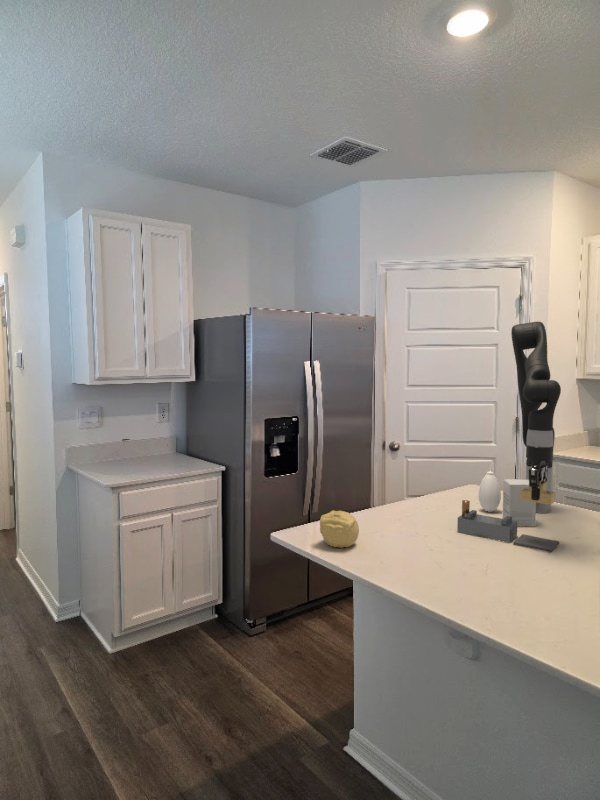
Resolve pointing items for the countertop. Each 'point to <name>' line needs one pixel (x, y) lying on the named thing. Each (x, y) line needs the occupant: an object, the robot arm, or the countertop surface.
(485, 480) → the white ovoid vessel
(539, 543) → the rubber mat
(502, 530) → the grey block holder tray
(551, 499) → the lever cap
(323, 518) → the pale yellow lumpy ball
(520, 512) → the supplement box
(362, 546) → the countertop surface
